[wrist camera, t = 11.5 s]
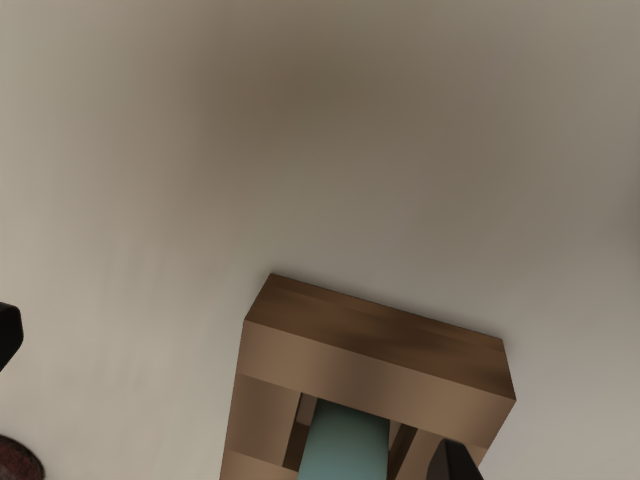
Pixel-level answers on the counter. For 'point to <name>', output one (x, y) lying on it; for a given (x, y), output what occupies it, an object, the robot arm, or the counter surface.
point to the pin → (345, 444)
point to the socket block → (358, 381)
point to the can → (17, 462)
